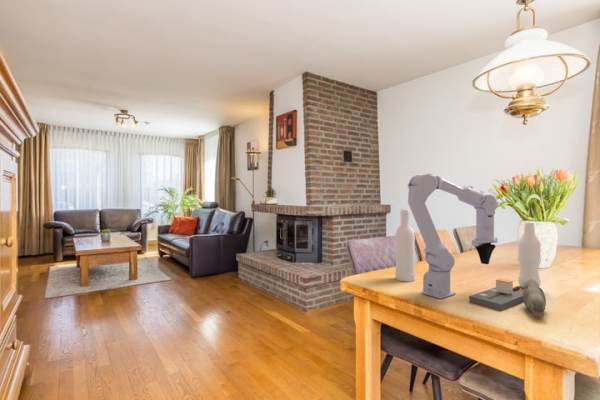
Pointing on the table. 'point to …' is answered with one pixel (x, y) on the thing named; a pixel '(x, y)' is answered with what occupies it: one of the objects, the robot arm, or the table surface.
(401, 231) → the bottle
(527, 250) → the water bottle
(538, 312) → the decorative bird
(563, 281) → the table surface
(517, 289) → the twin grey rods
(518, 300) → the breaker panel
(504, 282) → the handle
